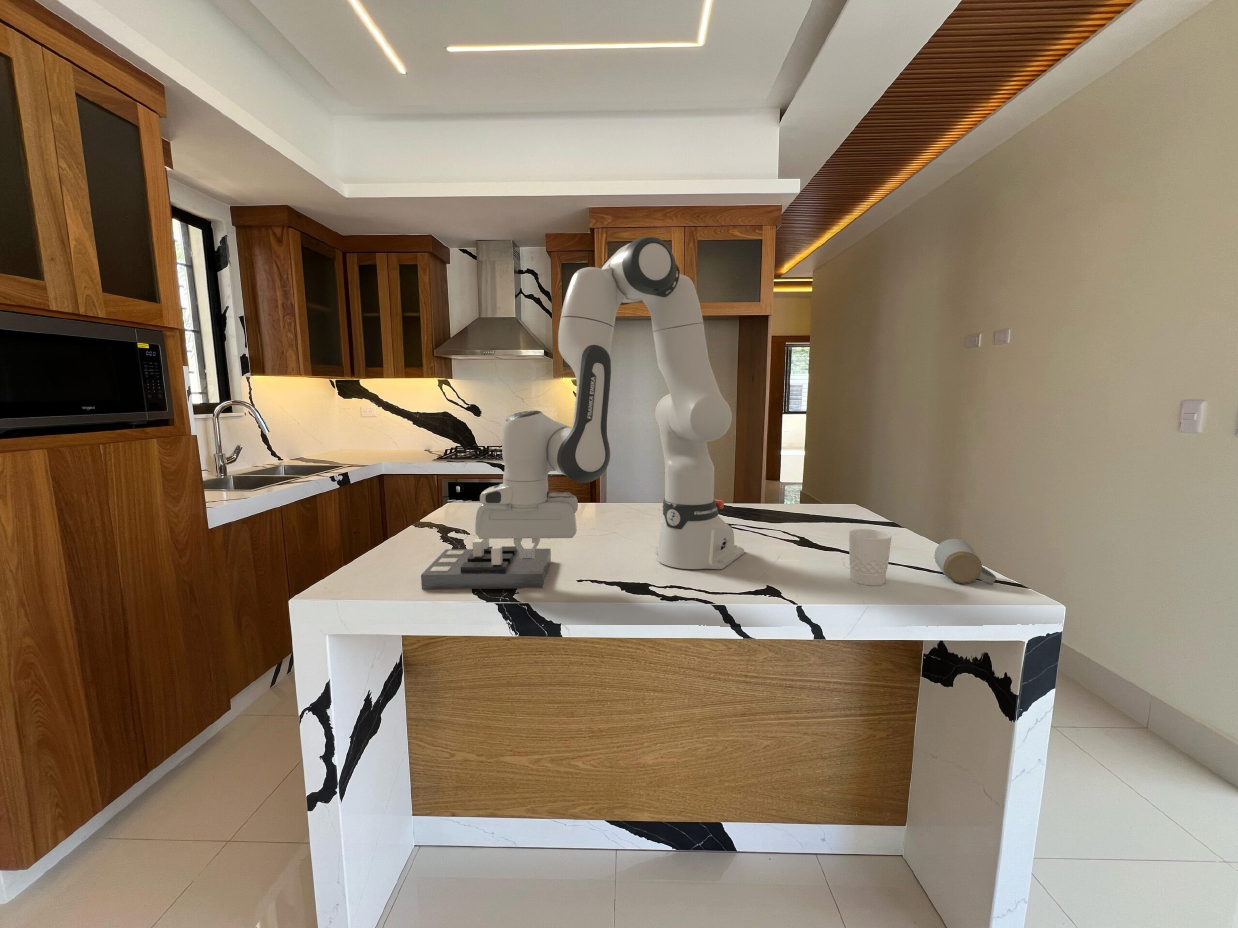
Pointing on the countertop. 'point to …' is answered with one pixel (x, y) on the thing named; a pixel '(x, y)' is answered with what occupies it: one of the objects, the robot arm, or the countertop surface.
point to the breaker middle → (478, 547)
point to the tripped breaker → (496, 555)
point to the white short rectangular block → (486, 543)
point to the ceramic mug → (961, 562)
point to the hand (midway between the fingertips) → (527, 558)
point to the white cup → (869, 556)
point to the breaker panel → (486, 570)
